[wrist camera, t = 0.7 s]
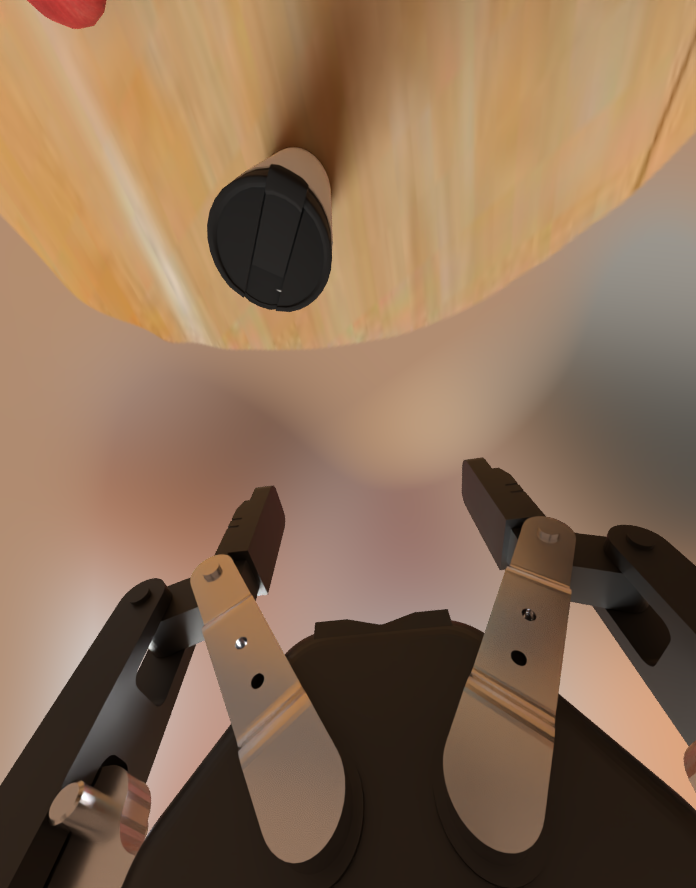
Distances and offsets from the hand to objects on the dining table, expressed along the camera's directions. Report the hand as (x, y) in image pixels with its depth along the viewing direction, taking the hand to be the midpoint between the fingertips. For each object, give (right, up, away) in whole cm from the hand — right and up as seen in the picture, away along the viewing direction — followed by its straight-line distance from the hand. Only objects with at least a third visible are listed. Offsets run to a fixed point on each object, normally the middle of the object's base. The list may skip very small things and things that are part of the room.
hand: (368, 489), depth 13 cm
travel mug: (-6, +26, +16) cm, 31 cm away
